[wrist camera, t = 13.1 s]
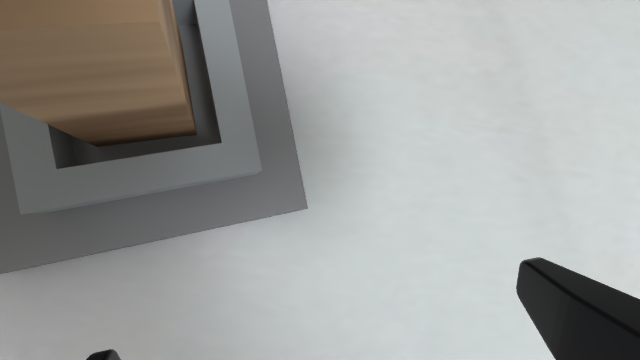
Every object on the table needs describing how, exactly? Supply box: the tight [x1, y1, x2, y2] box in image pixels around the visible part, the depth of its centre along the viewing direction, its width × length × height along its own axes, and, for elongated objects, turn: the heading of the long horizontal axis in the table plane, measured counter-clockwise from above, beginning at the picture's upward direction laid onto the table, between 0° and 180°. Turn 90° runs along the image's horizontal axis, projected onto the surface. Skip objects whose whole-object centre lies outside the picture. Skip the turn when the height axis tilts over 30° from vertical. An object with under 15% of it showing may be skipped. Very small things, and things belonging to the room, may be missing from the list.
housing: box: [0, 0, 308, 274], centre depth 18 cm, size 14×14×4 cm
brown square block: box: [0, 0, 197, 147], centre depth 13 cm, size 4×4×12 cm
